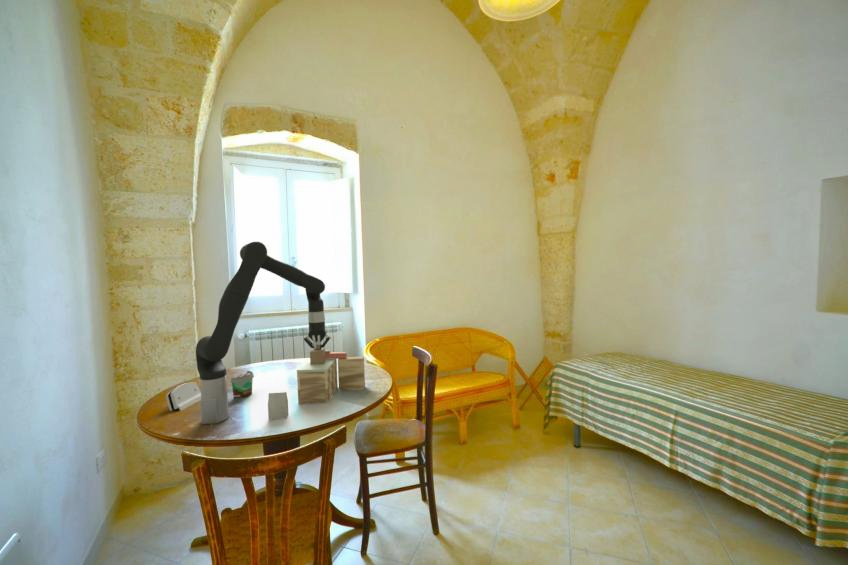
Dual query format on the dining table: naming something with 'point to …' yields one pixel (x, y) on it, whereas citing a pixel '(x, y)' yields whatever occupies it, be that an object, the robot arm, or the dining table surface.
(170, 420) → the dining table surface
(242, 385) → the food container
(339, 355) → the key bar
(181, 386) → the hinge
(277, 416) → the tea box
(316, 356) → the lid
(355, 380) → the wooden box
